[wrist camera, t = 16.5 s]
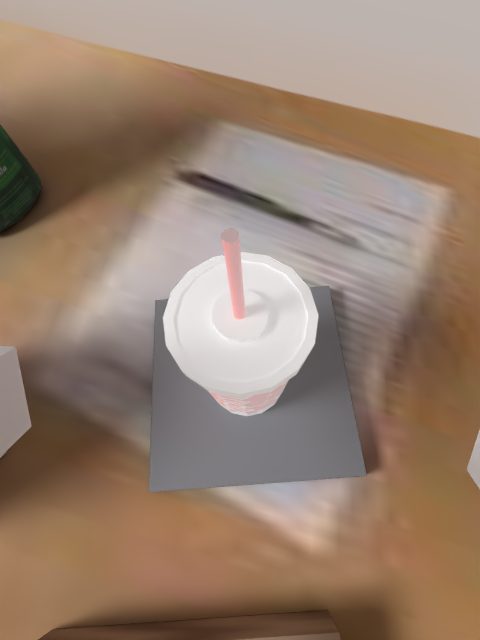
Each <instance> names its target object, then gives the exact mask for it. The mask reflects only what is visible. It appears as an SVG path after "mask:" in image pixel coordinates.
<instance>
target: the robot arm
mask: <svg viewBox="0 0 480 640" xmlns="http://www.w3.org/2000/svg"><path fill="white" fill-rule="evenodd" d="M31 427H32V426H31V421H30V416H29V411H28V406H27V401H26V396H25V391H24V386H23V381H22V375H21V370H20V365H19V360H18V355H17V350H16V347H10V346H0V457H1V456H2V455H3V454H4V453H5V452H6V451H7V450H8V449H9V448H10V447H11V446H12V445H13V444H14V443H15V442H16V441H17V440H18V439H19V438H20V437H21V436H22V435H23V434H24V433H25V432H26V431H28V430H29V429H30V428H31ZM467 471H468V472H469V474H470V475H471V477H472V478H473V480H474V481H475V483H476V484H477V486H478V487H479V489H480V430H479V433H478V436H477V439H476V442H475V445H474V448H473V451H472V455H471V458H470V461H469V464H468V467H467Z"/></svg>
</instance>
